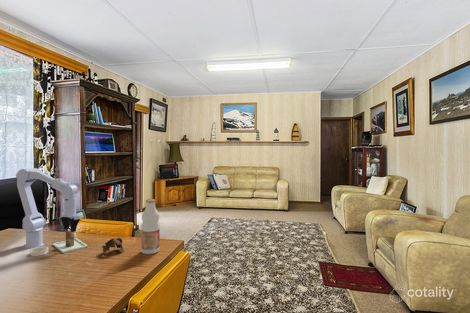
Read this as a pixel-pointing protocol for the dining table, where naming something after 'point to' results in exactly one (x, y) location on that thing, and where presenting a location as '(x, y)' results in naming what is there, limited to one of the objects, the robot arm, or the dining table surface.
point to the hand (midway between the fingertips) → (69, 230)
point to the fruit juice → (150, 229)
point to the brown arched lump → (113, 244)
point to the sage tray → (63, 249)
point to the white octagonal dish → (39, 251)
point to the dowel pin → (69, 238)
